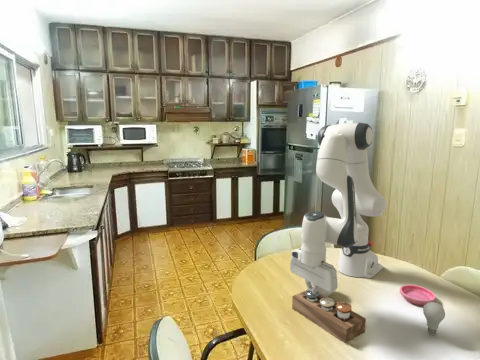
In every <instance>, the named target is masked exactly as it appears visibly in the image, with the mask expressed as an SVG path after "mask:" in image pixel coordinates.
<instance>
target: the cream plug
mask: <svg viewBox="0 0 480 360" xmlns="http://www.w3.org/2000/svg"><path fill="white" fill-rule="evenodd" d="M334 301H335V300H334V299H332V298H329V297H328V298H321V299H320V305H321V309H323V310H325V311H326V312H329V311H331V310H333V307H334Z"/></svg>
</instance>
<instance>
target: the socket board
mask: <svg viewBox="0 0 480 360" xmlns="http://www.w3.org/2000/svg"><path fill="white" fill-rule="evenodd" d="M305 292H306V290H304V291H302V292H299V293H296V294H295V295H292V299H291V300H292V303H291V304H292V305H291V307H292V310H294V311H295V312H297V313H299V314H300V315H301V316H303V317H304V318H306V319H307V320H309V321H310V322H311V323H313V324H315V325H316V326H318V327H319V328H321V329H323V330H324V331H325V332H326V333H329V334H330V335H332V336H333V337H334V338H336V339H337V340H339V341H341V342H342V343H344V344H345V345H346V344H348V343H349V342H351V341H353V340H354V339H356V338H358V337H359V336H361V335H363V334H365V332H366V320H367V318H366V317H364V316H362V315H361V314H359V313H357V312H355V311H353V310H351V312H350V320H348V321H347V322H343V321H341V320H340V319H338V318H337V309H336V304H337V303H338V302H337V301H335V300H333V301H334V307H333V310H331V311H329V312H326V311H325V310H323V309H321V305H320V299H321V298H329V296H328V297H326V296H324V295H322V294H321V293H319V297H318V298H317V301H316V302H313V303H311V302H310V301H308V300H306V296H305Z"/></svg>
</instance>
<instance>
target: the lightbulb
mask: <svg viewBox="0 0 480 360" xmlns="http://www.w3.org/2000/svg"><path fill="white" fill-rule="evenodd" d="M422 313H423V316H424V317H425V319H426V326H427V333H428V334H429V335H431V336H435V335H436V334H437V332H438V329H439V326H440V323H442V321H444V319H445V318H446V311H445V309H444V307H443V305H441V304H439V303H438V302H436V301H434V302H428V303H426V304H425V305H424V306H423V308H422Z"/></svg>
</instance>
